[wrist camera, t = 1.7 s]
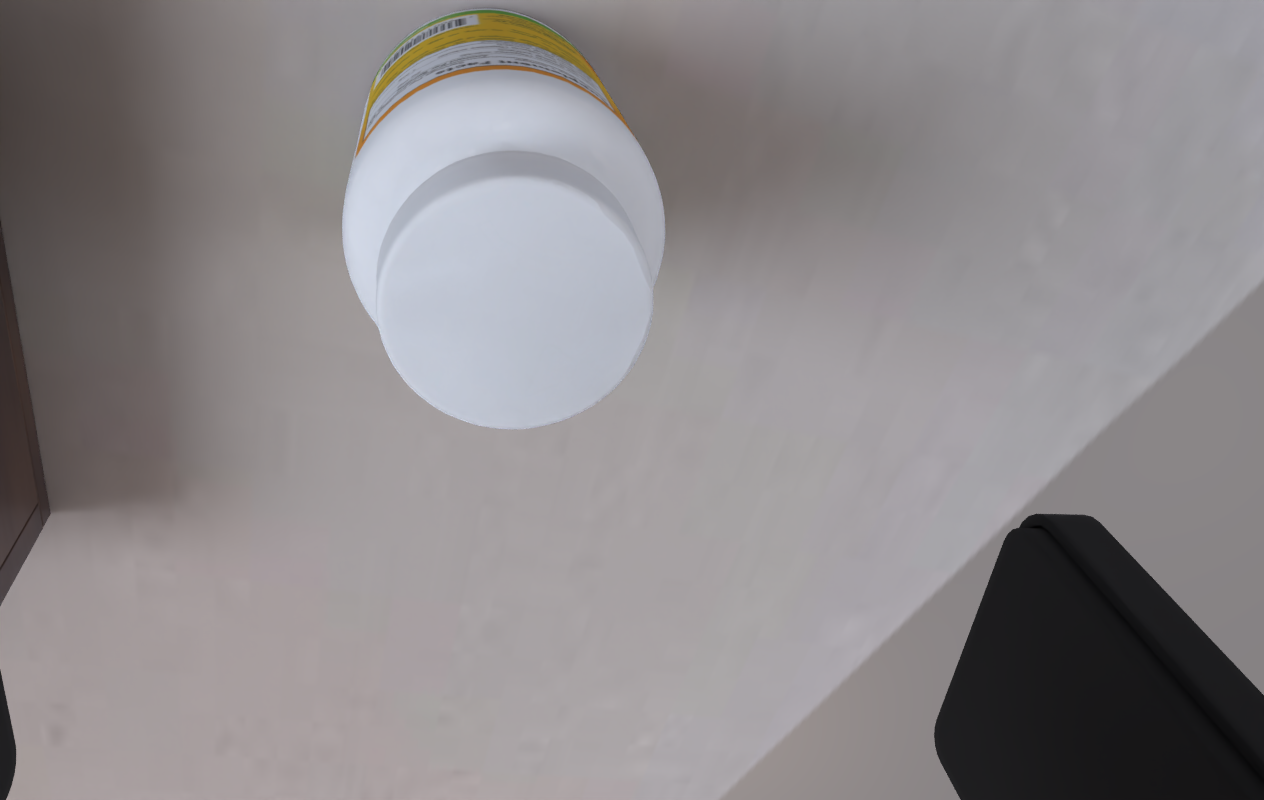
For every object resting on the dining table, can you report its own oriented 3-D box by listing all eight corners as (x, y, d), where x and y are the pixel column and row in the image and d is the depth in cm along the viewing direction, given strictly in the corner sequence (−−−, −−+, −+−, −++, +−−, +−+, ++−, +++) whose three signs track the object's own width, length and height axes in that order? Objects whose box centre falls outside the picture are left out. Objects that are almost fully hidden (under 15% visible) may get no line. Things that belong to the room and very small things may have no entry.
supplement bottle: (565, 270, 25) (630, 502, 16) (340, 208, 23) (287, 431, 15) (641, 51, 22) (762, 193, 14) (398, -35, 21) (373, 68, 13)
